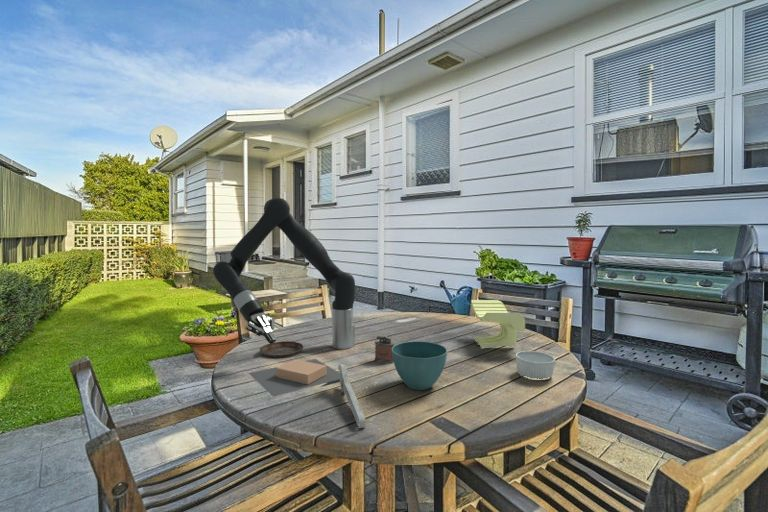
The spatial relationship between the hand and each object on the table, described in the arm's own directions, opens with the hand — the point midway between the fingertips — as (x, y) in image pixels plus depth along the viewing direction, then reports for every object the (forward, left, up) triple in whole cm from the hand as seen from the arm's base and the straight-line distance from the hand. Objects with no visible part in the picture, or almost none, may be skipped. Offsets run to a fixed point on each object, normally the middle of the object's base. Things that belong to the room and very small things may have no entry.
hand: (273, 342), depth 138 cm
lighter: (-40, +13, -12) cm, 44 cm away
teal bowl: (-35, +39, -12) cm, 54 cm away
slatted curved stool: (-94, +25, -12) cm, 98 cm away
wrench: (-9, +38, -12) cm, 41 cm away
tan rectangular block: (-3, +5, -8) cm, 10 cm away
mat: (-5, +9, -11) cm, 16 cm away
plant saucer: (-11, -20, -12) cm, 25 cm away
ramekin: (-74, +57, -12) cm, 94 cm away
